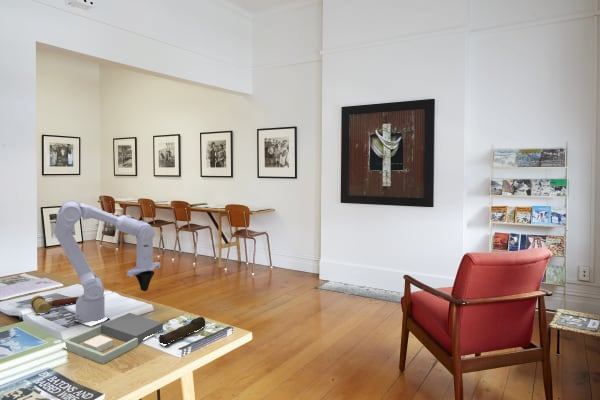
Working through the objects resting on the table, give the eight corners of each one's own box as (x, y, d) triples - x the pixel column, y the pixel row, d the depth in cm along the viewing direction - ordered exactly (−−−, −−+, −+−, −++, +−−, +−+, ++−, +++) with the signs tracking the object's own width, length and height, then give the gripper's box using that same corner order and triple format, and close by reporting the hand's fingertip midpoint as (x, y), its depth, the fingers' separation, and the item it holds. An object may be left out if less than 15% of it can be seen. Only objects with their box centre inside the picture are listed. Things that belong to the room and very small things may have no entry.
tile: (99, 334, 132) (100, 342, 133) (83, 342, 127) (83, 350, 127) (112, 339, 130) (112, 346, 130) (96, 347, 124) (96, 355, 125)
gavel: (89, 288, 170) (98, 296, 163) (88, 299, 170) (97, 307, 163) (30, 296, 155) (37, 304, 148) (29, 308, 155) (36, 316, 148)
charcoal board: (101, 333, 138) (100, 324, 138) (129, 320, 149) (129, 312, 148) (135, 344, 131) (135, 336, 131) (162, 330, 142) (162, 322, 142)
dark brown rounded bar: (165, 349, 130) (166, 335, 130) (158, 345, 133) (158, 331, 132) (210, 329, 146) (210, 317, 145) (202, 326, 148) (203, 314, 148)
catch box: (62, 348, 127) (62, 340, 126) (98, 332, 138) (98, 325, 138) (103, 364, 119) (103, 355, 119) (138, 345, 131) (138, 338, 131)
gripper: (137, 261, 144) (137, 298, 146) (166, 253, 157) (166, 286, 159) (122, 258, 147) (122, 294, 149) (153, 250, 160) (152, 283, 162)
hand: (144, 290), depth 154 cm, fingers closed
